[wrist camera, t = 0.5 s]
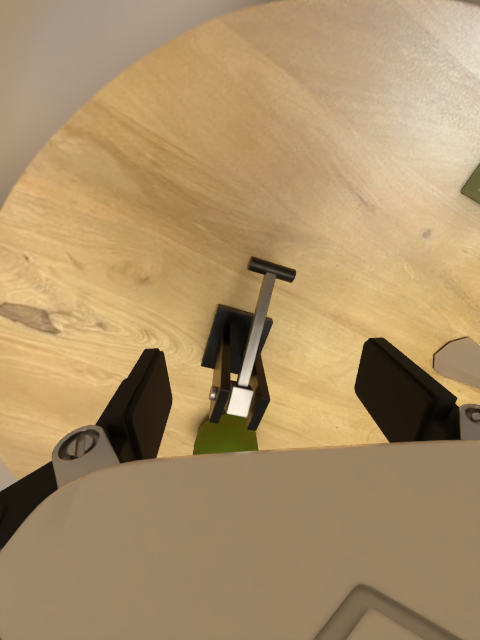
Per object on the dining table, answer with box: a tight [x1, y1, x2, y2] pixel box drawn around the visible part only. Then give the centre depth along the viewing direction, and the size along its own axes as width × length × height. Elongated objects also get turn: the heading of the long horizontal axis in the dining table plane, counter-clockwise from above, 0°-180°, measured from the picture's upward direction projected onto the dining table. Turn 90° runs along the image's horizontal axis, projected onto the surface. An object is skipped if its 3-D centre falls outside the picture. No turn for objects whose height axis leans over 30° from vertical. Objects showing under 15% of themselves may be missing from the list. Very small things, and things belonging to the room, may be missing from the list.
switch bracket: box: [201, 305, 273, 431], centre depth 30 cm, size 10×8×14 cm
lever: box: [225, 256, 296, 418], centre depth 25 cm, size 16×5×2 cm, turn 163°
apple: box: [193, 414, 258, 455], centre depth 39 cm, size 11×11×11 cm
